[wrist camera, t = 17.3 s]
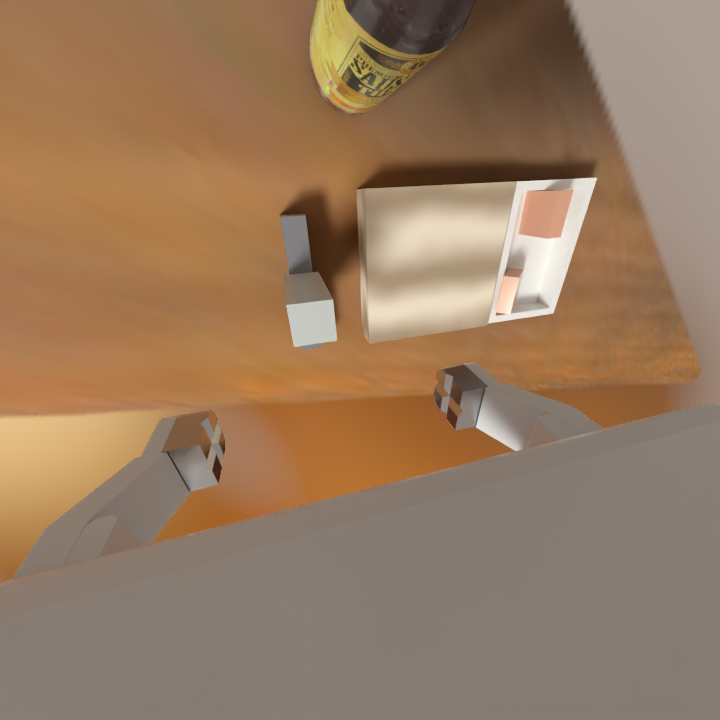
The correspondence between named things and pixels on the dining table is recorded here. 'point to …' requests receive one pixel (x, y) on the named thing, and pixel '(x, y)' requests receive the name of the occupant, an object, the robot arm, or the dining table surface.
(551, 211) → the tile
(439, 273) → the birch board
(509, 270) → the tile
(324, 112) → the dining table surface
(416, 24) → the sauce bottle
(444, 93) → the dining table surface
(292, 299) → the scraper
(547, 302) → the tray
